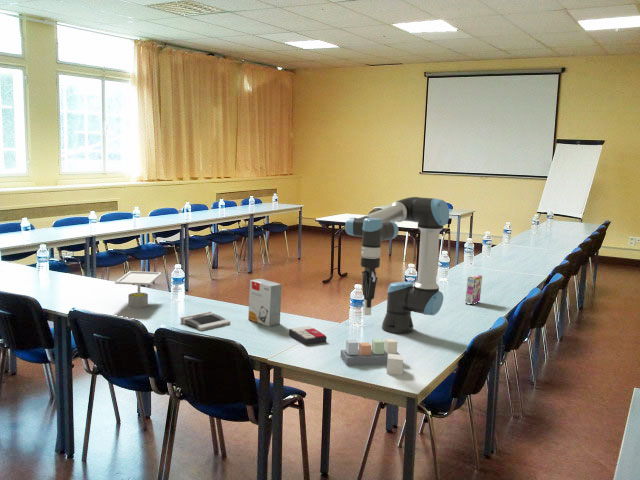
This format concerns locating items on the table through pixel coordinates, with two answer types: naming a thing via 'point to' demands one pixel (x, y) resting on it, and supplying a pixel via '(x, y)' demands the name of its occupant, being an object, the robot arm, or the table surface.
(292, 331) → the calculator
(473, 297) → the candy bar box
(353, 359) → the key panel
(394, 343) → the key ivory
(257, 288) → the hard drive box
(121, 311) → the table surface
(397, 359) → the pale grey cube
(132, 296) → the solar panel model
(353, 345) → the key bluegrey
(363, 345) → the key terracotta
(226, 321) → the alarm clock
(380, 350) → the key green
